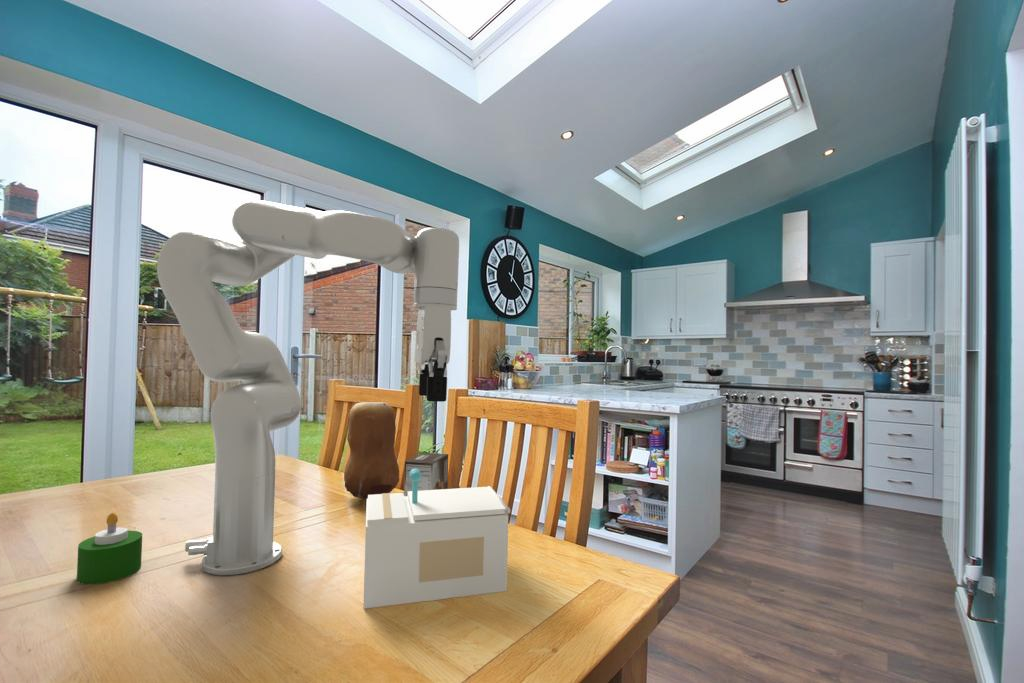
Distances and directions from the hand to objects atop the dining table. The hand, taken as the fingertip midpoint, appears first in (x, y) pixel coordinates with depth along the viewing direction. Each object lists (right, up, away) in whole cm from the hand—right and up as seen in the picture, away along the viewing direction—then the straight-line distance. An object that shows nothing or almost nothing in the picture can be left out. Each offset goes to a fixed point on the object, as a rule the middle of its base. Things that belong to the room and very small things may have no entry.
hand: (431, 398), depth 84 cm
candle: (-53, -29, -3) cm, 61 cm away
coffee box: (-4, -31, +16) cm, 35 cm away
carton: (+1, -30, -3) cm, 30 cm away
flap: (+4, -18, -2) cm, 19 cm away
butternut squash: (-22, -31, +39) cm, 55 cm away
